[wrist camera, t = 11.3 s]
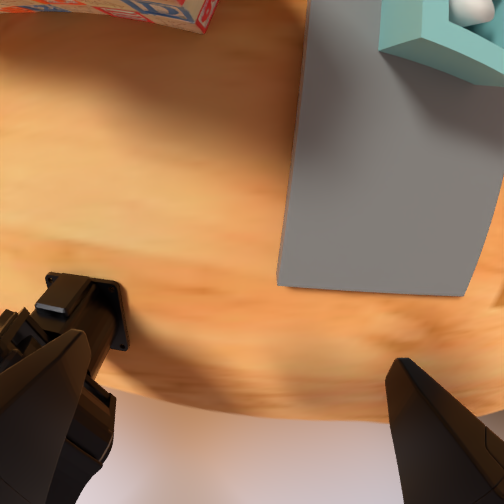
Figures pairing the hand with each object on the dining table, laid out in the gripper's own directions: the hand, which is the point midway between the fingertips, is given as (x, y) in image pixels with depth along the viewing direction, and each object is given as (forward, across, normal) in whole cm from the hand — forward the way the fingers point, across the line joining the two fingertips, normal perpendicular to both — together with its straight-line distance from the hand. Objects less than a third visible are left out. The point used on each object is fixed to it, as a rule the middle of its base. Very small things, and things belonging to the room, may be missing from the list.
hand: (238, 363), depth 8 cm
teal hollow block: (+10, -9, -13) cm, 19 cm away
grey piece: (+12, -9, -8) cm, 17 cm away
